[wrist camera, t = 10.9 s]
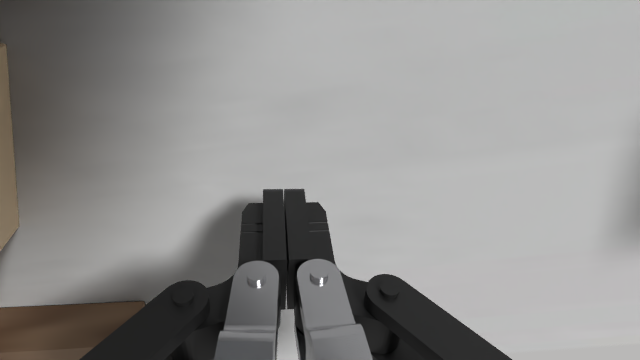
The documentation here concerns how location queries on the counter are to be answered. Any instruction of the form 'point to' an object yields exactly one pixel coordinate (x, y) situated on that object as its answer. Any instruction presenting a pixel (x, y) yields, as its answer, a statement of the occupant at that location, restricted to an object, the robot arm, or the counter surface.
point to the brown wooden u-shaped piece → (59, 329)
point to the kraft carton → (6, 158)
